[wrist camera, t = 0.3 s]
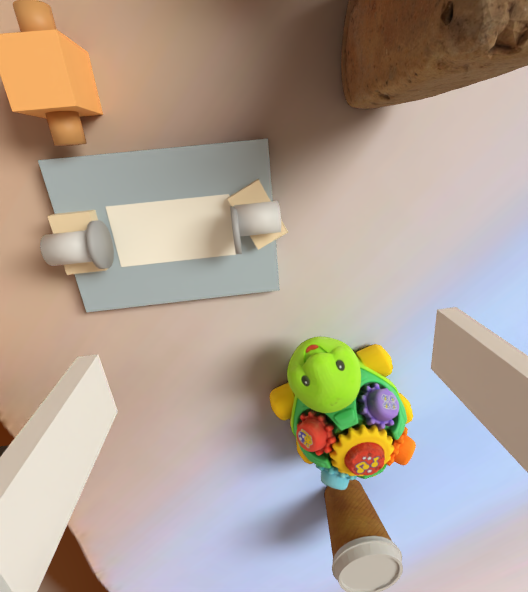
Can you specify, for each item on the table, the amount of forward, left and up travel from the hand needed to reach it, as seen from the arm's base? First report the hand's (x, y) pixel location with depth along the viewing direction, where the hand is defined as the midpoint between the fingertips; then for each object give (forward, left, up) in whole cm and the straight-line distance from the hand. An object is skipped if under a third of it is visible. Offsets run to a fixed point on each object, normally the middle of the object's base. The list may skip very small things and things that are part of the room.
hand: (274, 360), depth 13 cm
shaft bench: (-1, -8, -27) cm, 28 cm away
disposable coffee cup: (+44, +11, -27) cm, 53 cm away
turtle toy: (+22, +9, -27) cm, 36 cm away
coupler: (-15, -15, -27) cm, 34 cm away
